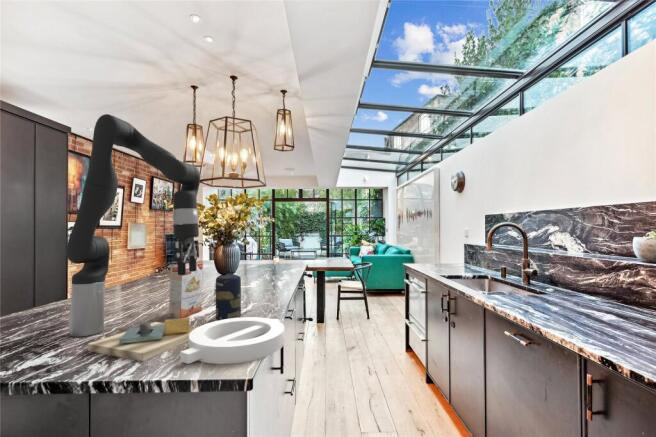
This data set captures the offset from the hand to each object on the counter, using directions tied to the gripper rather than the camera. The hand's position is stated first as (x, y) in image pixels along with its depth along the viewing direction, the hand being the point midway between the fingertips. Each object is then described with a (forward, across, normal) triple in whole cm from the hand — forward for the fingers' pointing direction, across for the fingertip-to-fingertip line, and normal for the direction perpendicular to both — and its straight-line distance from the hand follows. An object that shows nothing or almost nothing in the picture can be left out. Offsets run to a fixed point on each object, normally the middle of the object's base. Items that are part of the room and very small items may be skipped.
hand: (187, 273), depth 100 cm
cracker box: (+20, -31, -14) cm, 40 cm away
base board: (+21, +2, -12) cm, 24 cm away
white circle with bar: (+23, +5, +17) cm, 29 cm away
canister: (+22, -22, +6) cm, 31 cm away
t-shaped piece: (+18, +2, -9) cm, 21 cm away
